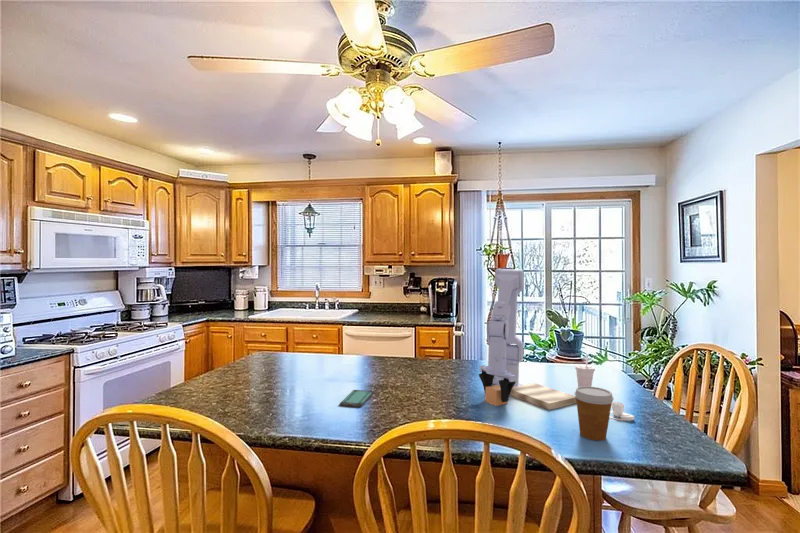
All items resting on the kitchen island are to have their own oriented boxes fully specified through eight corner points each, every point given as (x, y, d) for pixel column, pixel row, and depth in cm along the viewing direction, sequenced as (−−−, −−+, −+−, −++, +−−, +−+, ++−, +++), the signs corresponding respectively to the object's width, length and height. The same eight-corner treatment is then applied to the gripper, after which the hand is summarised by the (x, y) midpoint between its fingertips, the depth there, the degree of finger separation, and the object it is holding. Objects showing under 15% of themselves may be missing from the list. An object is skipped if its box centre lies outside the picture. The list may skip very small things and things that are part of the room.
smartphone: (338, 403, 129) (353, 389, 144) (338, 407, 129) (353, 392, 144) (361, 405, 127) (374, 390, 142) (361, 409, 127) (374, 394, 142)
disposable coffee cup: (567, 428, 114) (568, 385, 114) (599, 428, 115) (600, 385, 115) (585, 443, 105) (586, 396, 105) (620, 443, 106) (621, 396, 106)
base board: (506, 393, 145) (507, 388, 145) (534, 388, 152) (534, 382, 152) (549, 409, 129) (549, 403, 129) (577, 402, 136) (577, 396, 136)
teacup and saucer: (638, 424, 120) (638, 410, 120) (609, 421, 121) (609, 408, 121) (627, 413, 128) (627, 400, 128) (600, 411, 130) (600, 398, 130)
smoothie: (596, 397, 143) (597, 357, 143) (576, 395, 144) (577, 356, 144) (591, 391, 149) (592, 353, 149) (572, 390, 150) (573, 352, 150)
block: (485, 401, 136) (485, 386, 136) (496, 399, 139) (496, 384, 139) (496, 406, 132) (496, 390, 132) (507, 403, 134) (507, 388, 134)
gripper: (473, 353, 139) (472, 393, 139) (504, 363, 127) (503, 406, 127) (488, 351, 143) (487, 390, 143) (520, 360, 131) (519, 403, 131)
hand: (496, 398), depth 135 cm, fingers open, 7 cm apart
